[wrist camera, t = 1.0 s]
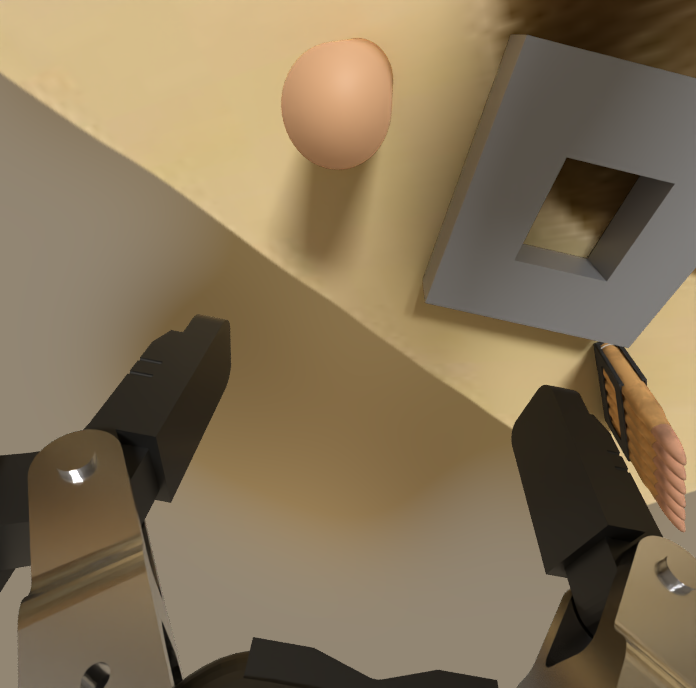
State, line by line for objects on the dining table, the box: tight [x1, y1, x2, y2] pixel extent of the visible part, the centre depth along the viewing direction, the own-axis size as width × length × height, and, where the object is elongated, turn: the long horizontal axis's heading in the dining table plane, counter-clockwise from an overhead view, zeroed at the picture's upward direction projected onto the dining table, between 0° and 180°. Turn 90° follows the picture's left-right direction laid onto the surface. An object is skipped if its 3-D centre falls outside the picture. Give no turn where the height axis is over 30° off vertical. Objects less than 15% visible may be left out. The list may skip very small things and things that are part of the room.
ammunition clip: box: [593, 342, 686, 532], centre depth 32 cm, size 11×2×12 cm, turn 26°
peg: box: [281, 38, 393, 170], centre depth 20 cm, size 4×4×11 cm
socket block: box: [423, 35, 696, 348], centre depth 26 cm, size 16×16×4 cm
